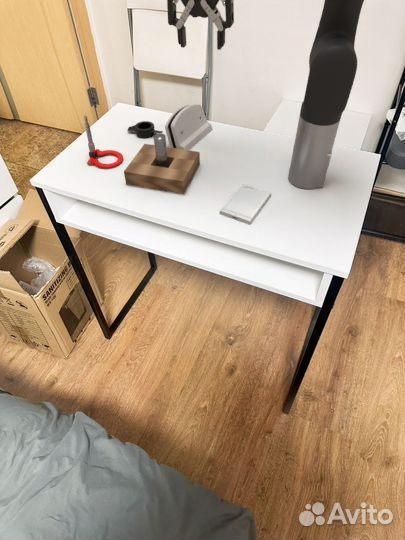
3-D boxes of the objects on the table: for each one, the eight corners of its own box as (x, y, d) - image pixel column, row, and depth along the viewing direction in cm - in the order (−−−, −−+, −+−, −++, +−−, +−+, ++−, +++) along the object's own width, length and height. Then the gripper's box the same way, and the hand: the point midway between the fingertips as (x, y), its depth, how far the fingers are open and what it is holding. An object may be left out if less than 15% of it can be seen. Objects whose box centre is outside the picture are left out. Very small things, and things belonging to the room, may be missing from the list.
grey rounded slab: (184, 154, 109) (172, 120, 103) (172, 155, 112) (159, 121, 106) (213, 129, 118) (203, 96, 112) (201, 130, 121) (191, 98, 115)
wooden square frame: (199, 164, 105) (199, 151, 102) (184, 194, 96) (183, 181, 93) (146, 156, 108) (144, 143, 105) (126, 184, 99) (123, 171, 96)
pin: (170, 172, 103) (167, 134, 95) (166, 178, 101) (163, 140, 93) (160, 170, 104) (156, 132, 95) (156, 176, 102) (151, 138, 93)
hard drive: (241, 183, 98) (219, 210, 90) (271, 192, 95) (250, 221, 88) (241, 188, 99) (219, 215, 92) (270, 198, 96) (250, 226, 89)
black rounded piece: (145, 124, 121) (144, 116, 119) (165, 136, 116) (164, 127, 114) (125, 133, 118) (124, 124, 116) (145, 145, 113) (144, 136, 111)
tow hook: (127, 155, 110) (97, 151, 110) (122, 112, 100) (88, 108, 101) (117, 172, 104) (85, 167, 105) (110, 128, 94) (75, 123, 95)
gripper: (238, -48, 75) (235, 43, 87) (170, -49, 78) (176, 40, 90) (230, -40, 70) (228, 55, 82) (157, -41, 73) (166, 51, 85)
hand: (201, 47), depth 86 cm, fingers open, 8 cm apart
